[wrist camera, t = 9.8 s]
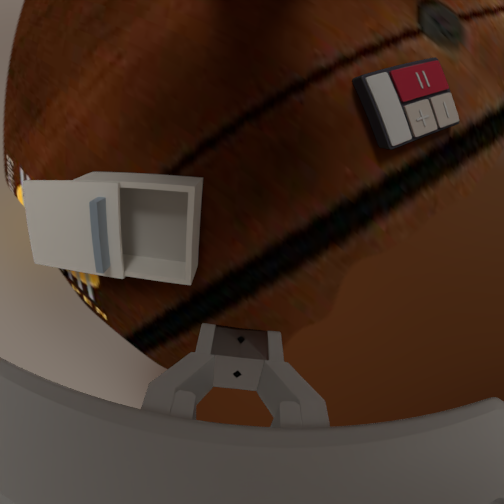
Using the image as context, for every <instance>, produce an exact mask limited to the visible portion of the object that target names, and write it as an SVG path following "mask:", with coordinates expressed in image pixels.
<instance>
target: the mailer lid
mask: <svg viewBox="0 0 504 504" xmlns="http://www.w3.org/2000/svg"><path fill="white" fill-rule="evenodd" d="M23 191H24V201H25V210H26V218H27V225H28V231H29V237H30V243H31V248H32V253H33V258H34V263H36V264H42V265H46V266H51V267H56V268H61V269H67V270H72V271H78V272H83V273H89V274H95V275H101V276H106V277H113V278H119V279H124V278H125V275H124V264H123V252H122V238H121V218H120V182H109V181H77V180H25V181H23Z"/></svg>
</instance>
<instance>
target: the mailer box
mask: <svg viewBox="0 0 504 504" xmlns="http://www.w3.org/2000/svg"><path fill="white" fill-rule="evenodd" d="M74 180H77V181H109V182H120V218H121V238H122V252H123V264H124V275H125V276H128V277H134V278H141V279H148V280H155V281H162V282H169V283H176V284H184V285H191V283H192V281H193V278H194V275H195V272H196V270H197V267H198V254H199V234H200V218H201V203H202V189H203V178H202V177H190V176H178V175H163V174H146V173H124V172H91V173H88V174H86V175H83V176H81V177H79V178H76V179H74Z"/></svg>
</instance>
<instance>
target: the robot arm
mask: <svg viewBox="0 0 504 504" xmlns="http://www.w3.org/2000/svg"><path fill="white" fill-rule="evenodd" d="M213 387H223V388H235V389H243V390H251V391H257V393H258V395H259V396H260V398H261V399H262V401H263V402H264V404H265V405H266V407H267V408H268V410H269V411H270V413H271V414H272V416H273V417H274V419H273V422H272V424H271V426H270V427H256V426H243V425H231V424H222V423H214V422H206V421H199V420H196V405H197V404H198V403H199V402H200V401H201V399H202V398H203V397H204V396H205V395H206V394H207V393H208V392H209V391H210V390H211V389H212V388H213ZM0 504H504V402H503V401H501V400H500V399H498V398H495V397H492V398H488V399H485V400H482V401H479V402H476V403H472V404H469V405H465V406H462V407H458V408H454V409H451V410H446V411H442V412H438V413H433V414H429V415H424V416H419V417H414V418H408V419H402V420H396V421H389V422H381V423H373V424H364V425H352V426H339V427H330V424H329V419H328V413H327V408H326V403H325V400H324V399H323V398H322V397H321V396H320V395H319V394H318V393H317V392H316V391H315V390H314V389H313V388H312V387H311V386H310V385H309V384H308V383H307V382H306V381H305V380H304V379H303V378H302V377H301V376H300V375H299V374H298V373H297V372H296V370H294V368H293V367H292V366H291V365H290V364H289V363H288V362H284V357H283V348H282V338H281V333H280V332H279V331H263V330H253V329H243V328H235V327H228V326H221V325H213V324H207V323H202V325H201V329H200V334H199V338H198V343H197V347H196V352H191V353H189V354H188V355H187V356H185V357H184V358H183V359H181V360H180V361H179V362H177V363H176V364H175V365H173V366H172V367H171V368H169V369H168V370H167V371H165V372H164V373H163V374H161V375H160V376H159V377H157V378H156V379H154V380H153V381H152V382H150V383H149V386H148V389H147V392H146V395H145V398H144V401H143V405H142V407H141V409H137V408H133V407H129V406H125V405H122V404H118V403H114V402H111V401H107V400H104V399H101V398H97V397H94V396H91V395H88V394H85V393H82V392H79V391H76V390H74V389H71V388H68V387H65V386H63V385H60V384H58V383H55V382H52V381H50V380H47V379H45V378H43V377H40V376H38V375H36V374H33V373H31V372H29V371H27V370H24V369H23V368H20V367H18V366H16V365H14V364H12V363H10V362H8V361H6V360H4V359H2V358H0Z"/></svg>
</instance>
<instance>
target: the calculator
mask: <svg viewBox="0 0 504 504" xmlns="http://www.w3.org/2000/svg"><path fill="white" fill-rule="evenodd" d="M352 82H353V84H354V87H355V89H356V91H357V93H358V95H359V98H360V100H361V102H362V105H363V107H364V110H365V112H366V114H367V117H368V119H369V122H370V125H371V127H372V130H373V132H374V135H375V138H376V141H377V143H378V146H379V147H380V148H385V149H390V150H392V149H395V148H397V147H400V146H402V145H405V144H407V143H410V142H412V141H415V140H417V139H420V138H422V137H425V136H427V135H430V134H432V133H435V132H438V131H440V130H443V129H446V128H448V127H451V126H454V125H456V124H458V123H459V117H458V114H457V111H456V107H455V104H454V101H453V98H452V95H451V93H450V90H449V86H448V84H447V81H446V78H445V75H444V73H443V70H442V68H441V65H440V63H439V61H438V59H437V58H430V59H425V60H420V61H415V62H411V63H406V64H402V65H398V66H394V67H390V68H386V69H382V70H378V71H375V72H371V73H368V74H364V75H361V76H359V77H356V78H354V79H353V80H352Z"/></svg>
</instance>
